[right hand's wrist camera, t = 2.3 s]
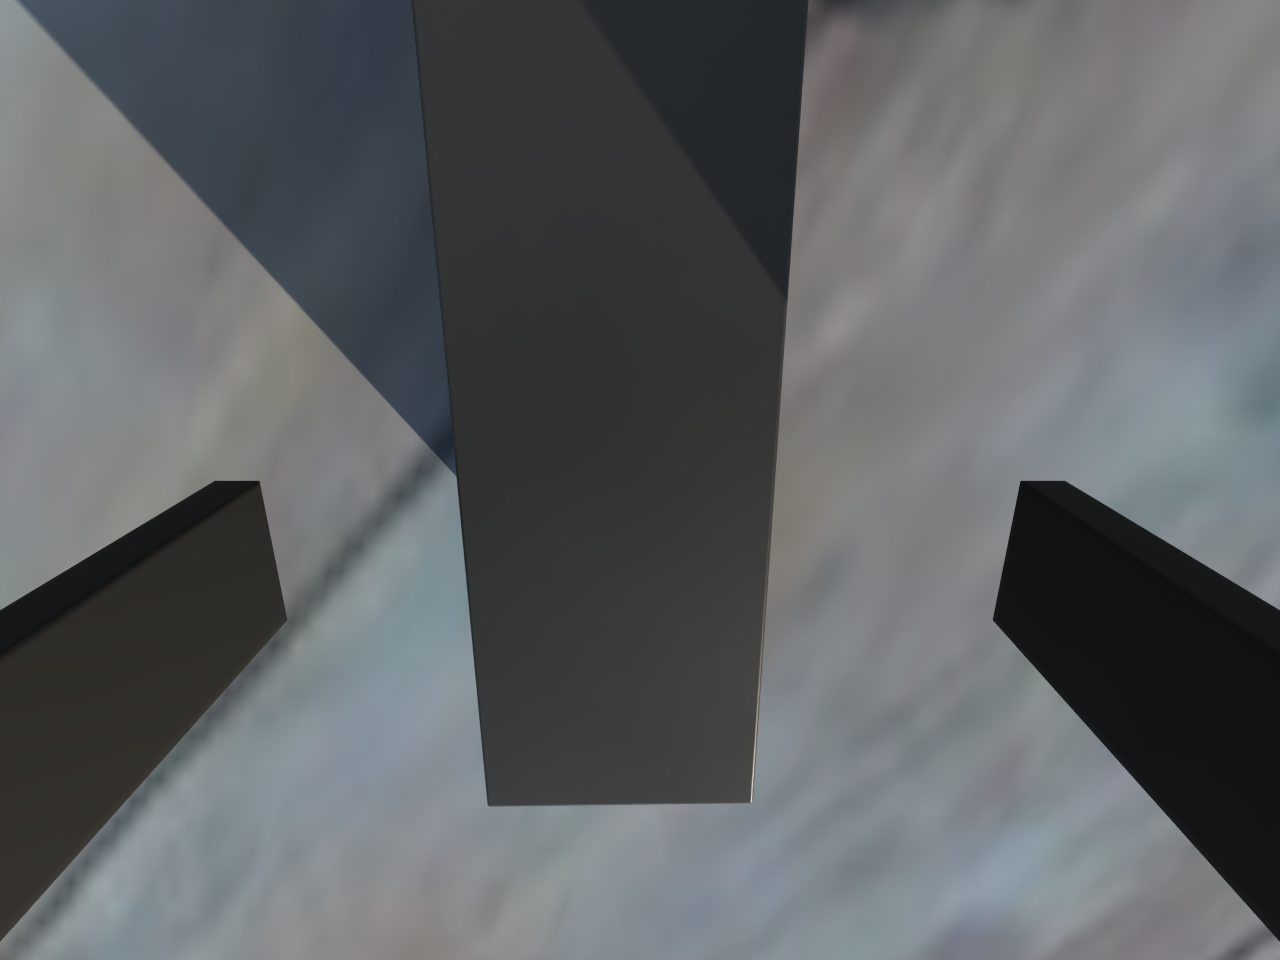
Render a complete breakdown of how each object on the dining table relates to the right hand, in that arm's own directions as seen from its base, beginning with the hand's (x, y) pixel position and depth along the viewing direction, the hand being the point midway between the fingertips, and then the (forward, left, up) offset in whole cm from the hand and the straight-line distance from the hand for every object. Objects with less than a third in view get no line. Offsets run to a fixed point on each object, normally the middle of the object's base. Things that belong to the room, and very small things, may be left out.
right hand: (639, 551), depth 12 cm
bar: (-4, +12, -6) cm, 14 cm away
